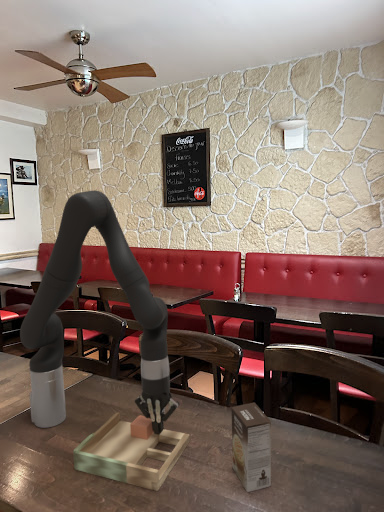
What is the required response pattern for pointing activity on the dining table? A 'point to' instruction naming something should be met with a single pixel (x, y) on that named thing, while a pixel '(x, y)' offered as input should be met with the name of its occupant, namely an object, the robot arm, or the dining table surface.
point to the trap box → (128, 454)
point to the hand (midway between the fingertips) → (158, 432)
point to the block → (141, 427)
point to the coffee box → (251, 446)
